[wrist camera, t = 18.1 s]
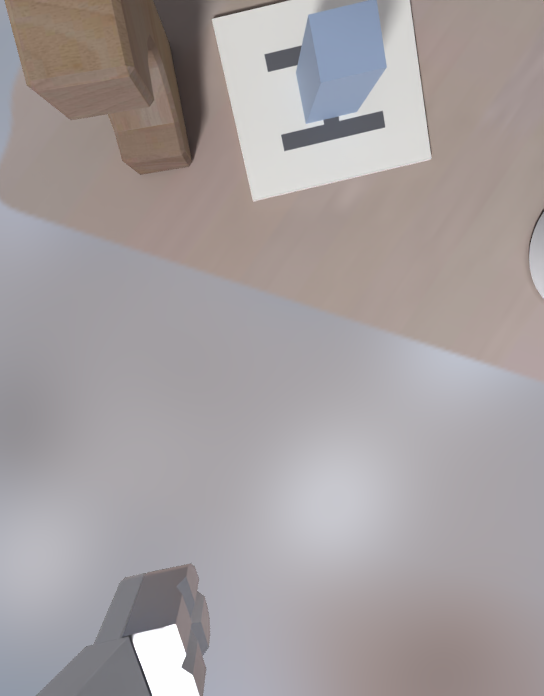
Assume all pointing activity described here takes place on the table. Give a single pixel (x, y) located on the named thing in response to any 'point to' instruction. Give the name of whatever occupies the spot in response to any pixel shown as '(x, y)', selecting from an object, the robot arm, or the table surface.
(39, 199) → the table surface
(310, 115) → the slate-blue block
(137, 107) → the decorative block
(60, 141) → the table surface
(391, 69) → the letter board
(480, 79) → the table surface
